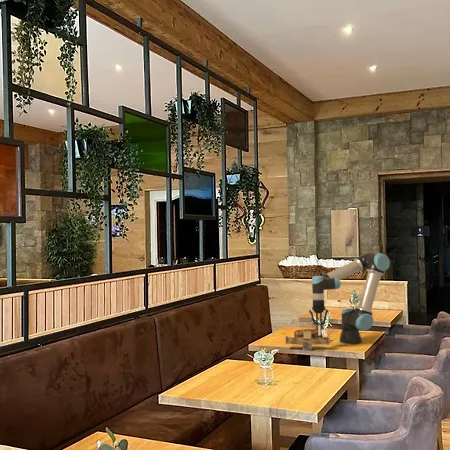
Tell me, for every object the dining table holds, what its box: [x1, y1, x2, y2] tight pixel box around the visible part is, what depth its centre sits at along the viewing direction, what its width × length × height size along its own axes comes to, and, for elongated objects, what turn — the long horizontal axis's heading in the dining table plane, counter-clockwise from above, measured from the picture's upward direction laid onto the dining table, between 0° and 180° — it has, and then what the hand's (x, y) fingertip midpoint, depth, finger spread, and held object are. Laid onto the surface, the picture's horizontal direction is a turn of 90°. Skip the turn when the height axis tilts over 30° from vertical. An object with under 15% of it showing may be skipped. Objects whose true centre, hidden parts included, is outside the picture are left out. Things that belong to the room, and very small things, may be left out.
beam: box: [285, 335, 330, 352], centre depth 366 cm, size 28×8×8 cm, turn 81°
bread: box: [293, 328, 323, 338], centre depth 385 cm, size 19×11×10 cm, turn 89°
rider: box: [303, 332, 311, 339], centre depth 366 cm, size 5×6×5 cm
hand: (319, 335), depth 365 cm, fingers closed
